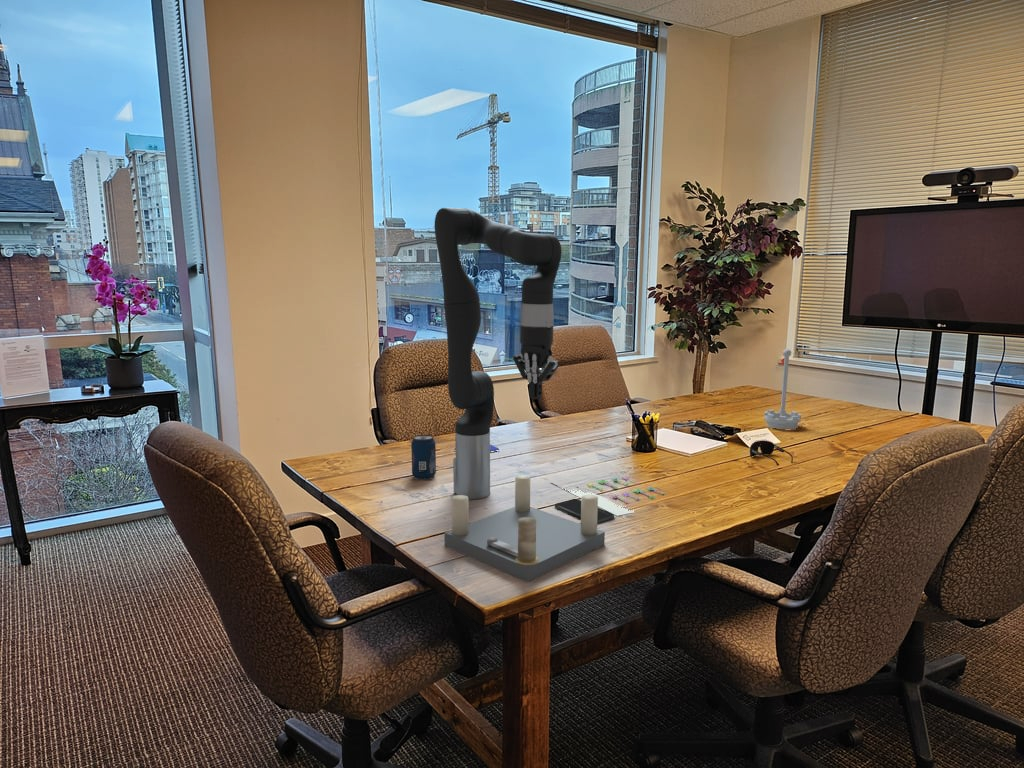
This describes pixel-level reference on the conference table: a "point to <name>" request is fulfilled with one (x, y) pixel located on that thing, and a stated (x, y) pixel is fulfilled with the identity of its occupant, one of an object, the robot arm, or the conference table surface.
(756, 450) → the sunglasses
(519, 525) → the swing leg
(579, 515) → the phone
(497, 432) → the conference table surface
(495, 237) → the robot arm
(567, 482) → the conference table surface
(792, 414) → the flag stand
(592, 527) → the grey square base plate
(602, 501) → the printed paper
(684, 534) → the conference table surface
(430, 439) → the soda can
